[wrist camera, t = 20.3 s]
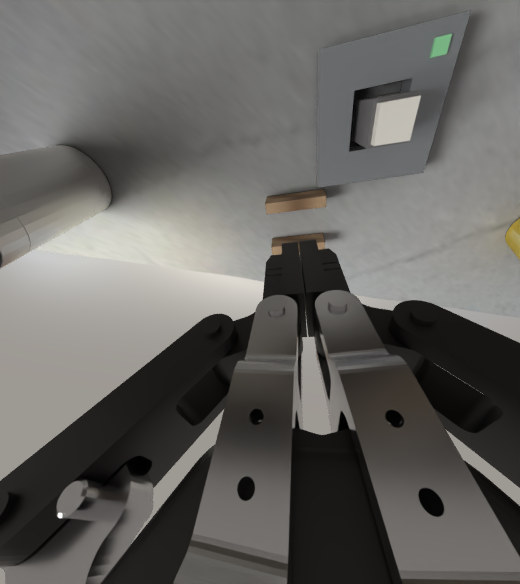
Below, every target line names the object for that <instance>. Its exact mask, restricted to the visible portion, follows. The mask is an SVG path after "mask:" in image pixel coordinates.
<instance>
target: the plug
mask: <svg viewBox="0 0 520 584" xmlns="http://www.w3.org/2000/svg"><path fill="white" fill-rule="evenodd" d="M420 92H421V90H419V91H410V92H401V93H392V94H386V95H381V96H376V97H371V98H366V99H360V100H356V102H355V111H354V121H353V131H352V140H353V141H354V142H356V143H358V144H359V145H361V146H363V147H365V148H366V149H369V148H376V147H382V146H389V145H395V144H402V143H408V141H410V138H411V134H412V130H413V126H414V122H415V118H416V114H417V110H418V106H419V102H420V98H421V96H420Z"/></svg>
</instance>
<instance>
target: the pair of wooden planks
mask: <svg viewBox="0 0 520 584" xmlns="http://www.w3.org/2000/svg"><path fill="white" fill-rule="evenodd" d="M265 206H266V213H267V214H272V213H280V212H288V211H296V210H304V209H312V208H321V207H326V193H325V191H324V189H320V190H313V191H306V192H298V193H291V194H284V195H277V196H269V197H267V199H266V203H265ZM311 239H316V242H317V246H318V250H321V249H325V241H324V237H323V233H318V234H308V235H298V236H288V237H278V238H273V239H272V254H273V255H277V254H282V243H288V242H296V241H298V247H299V241H303V240H311ZM299 253H300V249H299Z"/></svg>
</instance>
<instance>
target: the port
mask: <svg viewBox="0 0 520 584" xmlns="http://www.w3.org/2000/svg"><path fill="white" fill-rule="evenodd" d="M470 12H471V10H470V11H466V12H462V13H458V14H454V15H450V16H447V17H443V18H439V19H435V20H431V21H427V22H423V23H419V24H416V25H412V26H408V27H404V28H400V29H396V30H392V31H389V32H385V33H381V34H377V35H373V36H369V37H365V38H361V39H358V40H354V41H350V42H346V43H342V44H338V45H334V46H331V47H327V48H323V49H319V51H318V53H317V167H316V183H317V186H318V188H319V187H326V186H333V185H340V184H347V183H354V182H362V181H369V180H376V179H383V178H390V177H397V176H404V175H412V174H419V173H423V172H424V169H425V166H426V162H427V159H428V155H429V152H430V149H431V145H432V142H433V138H434V135H435V132H436V128H437V125H438V121H439V118H440V114H441V111H442V108H443V104H444V101H445V97H446V94H447V91H448V87H449V84H450V80H451V77H452V74H453V70H454V67H455V63H456V60H457V57H458V53H459V50H460V46H461V43H462V40H463V36H464V33H465V29H466V26H467V23H468V19H469V16H470ZM401 80H402V85H401V90H400V93H401V92H410V91H419V90H421V92H420V96H421V98H420V102H419V106H418V110H417V114H416V118H415V122H414V126H413V130H412V134H411V138H410V141H408V143H402V144H395V145H389V146H382V147H376V148H369V149H366V148H365V147H363V146H357V147H351V148H349V145H350V134H351V123H352V111H353V100H354V91H355V90H360V89H365V88H369V87H374V86H378V85H383V84H388V83H392V82H397V81H401Z"/></svg>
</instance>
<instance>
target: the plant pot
mask: <svg viewBox="0 0 520 584" xmlns="http://www.w3.org/2000/svg"><path fill="white" fill-rule="evenodd" d="M505 240H506V243H507V244H508V246H509V247H510V248H511V249H512V251H513V252H514V253H515V254H516V256H517V257H518V258H519V260H520V218H519V219H518V220H516V221H515V222H514V223H513V224H512V225H511V227H510V228H509V229H508V231H507V233H506V237H505Z"/></svg>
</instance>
